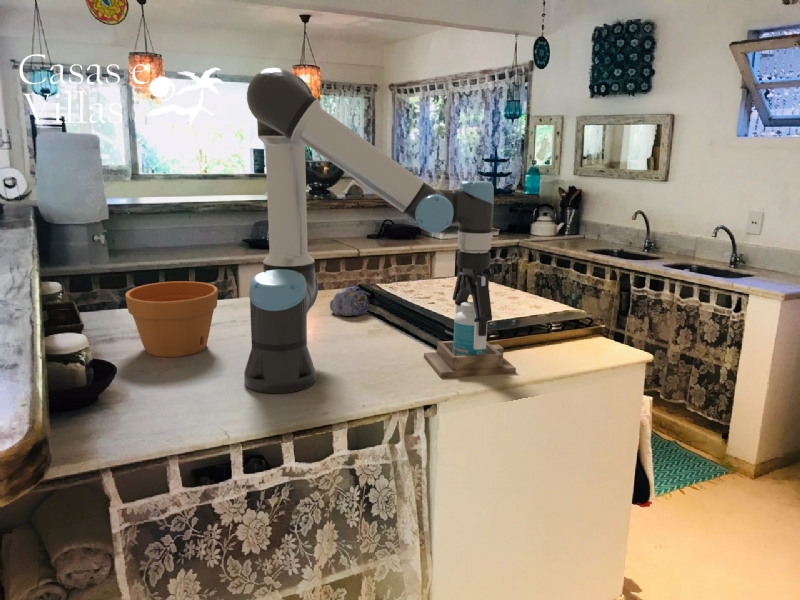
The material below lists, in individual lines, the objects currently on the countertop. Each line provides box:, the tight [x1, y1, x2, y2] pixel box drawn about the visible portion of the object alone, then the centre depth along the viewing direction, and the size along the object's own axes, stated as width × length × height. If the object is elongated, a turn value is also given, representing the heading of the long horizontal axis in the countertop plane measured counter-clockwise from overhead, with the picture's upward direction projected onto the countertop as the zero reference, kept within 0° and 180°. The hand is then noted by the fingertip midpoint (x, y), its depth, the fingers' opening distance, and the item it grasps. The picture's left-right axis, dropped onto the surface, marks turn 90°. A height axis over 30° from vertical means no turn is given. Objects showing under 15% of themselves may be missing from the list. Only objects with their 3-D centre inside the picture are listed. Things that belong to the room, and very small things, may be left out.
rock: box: [329, 285, 370, 317], centre depth 196 cm, size 11×10×10 cm
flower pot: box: [125, 280, 219, 358], centre depth 158 cm, size 21×21×15 cm
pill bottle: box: [453, 301, 485, 356], centre depth 151 cm, size 8×7×14 cm
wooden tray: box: [423, 340, 517, 378], centre depth 152 cm, size 18×14×4 cm
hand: (469, 339), depth 151 cm, fingers open, 13 cm apart
